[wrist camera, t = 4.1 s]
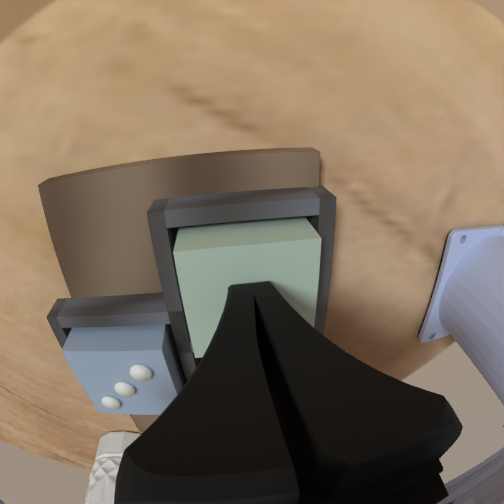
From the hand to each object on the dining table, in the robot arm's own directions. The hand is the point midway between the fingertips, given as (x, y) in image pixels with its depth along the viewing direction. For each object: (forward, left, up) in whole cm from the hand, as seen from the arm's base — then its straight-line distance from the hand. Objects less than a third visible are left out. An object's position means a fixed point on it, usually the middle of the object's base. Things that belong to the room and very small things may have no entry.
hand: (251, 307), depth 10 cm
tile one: (0, 0, -3) cm, 3 cm away
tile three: (+6, +4, -3) cm, 7 cm away
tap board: (+2, +4, -4) cm, 6 cm away
